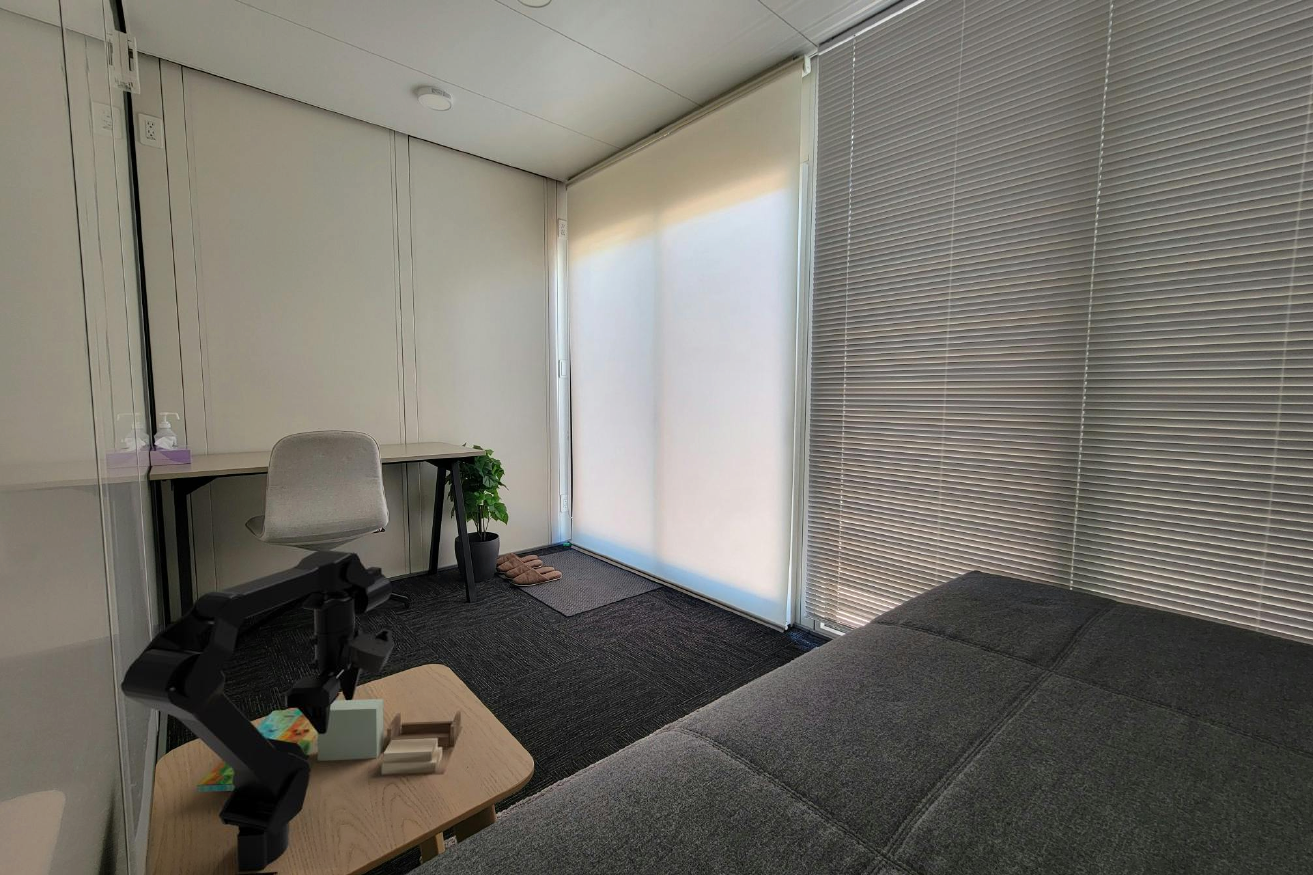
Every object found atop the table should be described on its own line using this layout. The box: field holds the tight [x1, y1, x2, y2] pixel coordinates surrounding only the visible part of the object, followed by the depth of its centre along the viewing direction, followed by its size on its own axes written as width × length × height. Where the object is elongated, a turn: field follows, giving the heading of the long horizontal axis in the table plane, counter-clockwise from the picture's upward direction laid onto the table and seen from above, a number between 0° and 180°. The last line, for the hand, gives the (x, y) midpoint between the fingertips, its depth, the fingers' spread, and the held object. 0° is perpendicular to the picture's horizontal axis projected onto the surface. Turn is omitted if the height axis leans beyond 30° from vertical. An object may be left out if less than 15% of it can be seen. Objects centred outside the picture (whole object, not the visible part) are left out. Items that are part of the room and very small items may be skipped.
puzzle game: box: [196, 709, 318, 793], centre depth 95 cm, size 12×5×20 cm
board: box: [317, 698, 384, 762], centre depth 96 cm, size 3×10×10 cm, turn 97°
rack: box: [371, 710, 463, 778], centre depth 98 cm, size 13×12×5 cm
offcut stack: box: [382, 738, 442, 775], centre depth 94 cm, size 4×9×4 cm, turn 97°
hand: (336, 715), depth 88 cm, fingers open, 9 cm apart
